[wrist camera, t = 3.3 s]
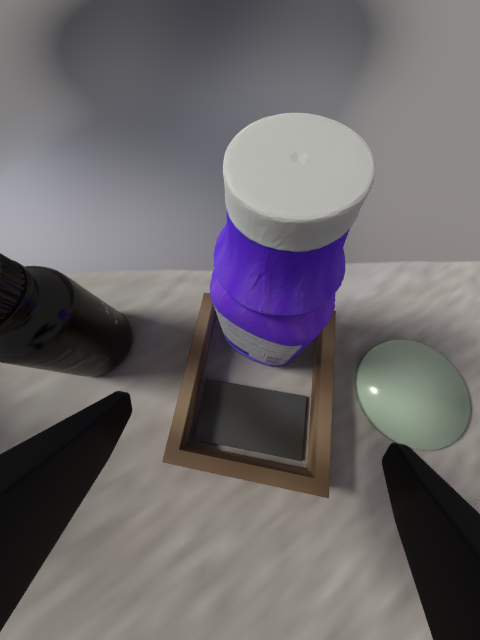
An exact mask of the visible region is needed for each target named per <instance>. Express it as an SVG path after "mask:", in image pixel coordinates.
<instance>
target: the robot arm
mask: <svg viewBox="0 0 480 640" xmlns="http://www.w3.org/2000/svg"><path fill="white" fill-rule="evenodd" d="M131 413H132V405H131V399H130V394H129V393H127V392H122V391H117V392H114V393H112V394H111V395H109V396H107V397H105V398H103V399H101V400H100V401H98V402H96V403H94V404H92V405H90V406H89V407H87V408H85V409H83V410H81V411H79V412H77V413H76V414H74V415H72V416H70V417H68V418H66V419H65V420H63V421H61V422H59V423H57V424H55V425H54V426H52V427H50V428H48V429H46V430H44V431H42V432H41V433H39V434H37V435H35V436H33V437H31V438H30V439H28V440H26V441H24V442H22V443H20V444H19V445H17V446H15V447H13V448H11V449H9V450H7V451H6V452H4V453H2V454H0V631H1V630H2V628H3V627H4V625H5V624H6V622H7V620H8V619H9V617H10V616H11V614H12V612H13V611H14V609H15V608H16V606H17V604H18V603H19V601H20V600H21V598H22V596H23V595H24V593H25V592H26V590H27V588H28V587H29V585H30V584H31V582H32V580H33V579H34V577H35V576H36V574H37V573H38V571H39V569H40V568H41V566H42V565H43V563H44V561H45V560H46V558H47V557H48V555H49V553H50V552H51V550H52V549H53V547H54V545H55V544H56V542H57V541H58V539H59V537H60V536H61V534H62V533H63V531H64V529H65V528H66V526H67V525H68V523H69V521H70V520H71V518H72V517H73V515H74V514H75V512H76V510H77V509H78V507H79V506H80V504H81V502H82V501H83V499H84V498H85V496H86V494H87V493H88V491H89V490H90V488H91V486H92V485H93V483H94V482H95V480H96V478H97V477H98V475H99V474H100V472H101V470H102V469H103V467H104V466H105V464H106V462H107V461H108V459H109V457H110V455H111V454H112V452H113V450H114V448H115V446H116V444H117V442H118V440H119V438H120V436H121V434H122V432H123V430H124V428H125V426H126V424H127V422H128V420H129V418H130V416H131ZM382 466H383V471H384V475H385V479H386V484H387V488H388V493H389V497H390V502H391V506H392V510H393V514H394V518H395V522H396V525H397V529H398V532H399V535H400V538H401V541H402V544H403V547H404V551H405V554H406V557H407V560H408V563H409V566H410V569H411V572H412V575H413V579H414V582H415V585H416V588H417V591H418V594H419V597H420V600H421V603H422V606H423V610H424V613H425V616H426V619H427V622H428V625H429V628H430V631H431V634H432V637H433V640H480V514H479V513H478V512H477V511H476V510H475V509H474V508H473V507H472V506H471V505H470V504H469V503H468V502H467V501H466V500H465V499H463V498H462V497H461V496H460V495H459V494H458V493H457V492H456V491H455V490H454V489H453V488H452V487H451V486H450V485H449V484H448V483H447V482H446V481H445V480H443V479H442V478H441V477H440V476H439V475H438V474H437V473H436V472H435V471H434V470H433V469H432V468H431V467H430V466H429V465H428V464H427V463H426V462H425V461H424V460H422V459H421V458H420V457H419V456H418V455H417V454H416V453H415V452H414V451H413V450H412V449H411V448H410V447H409V446H407V445H405V444H400V443H391V444H390V446H389V448H388V449H387V451H386V453H385V455H384V456H383V459H382Z"/></svg>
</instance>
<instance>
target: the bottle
mask: <svg viewBox="0 0 480 640" xmlns="http://www.w3.org/2000/svg"><path fill="white" fill-rule="evenodd" d="M223 175H224V185H225V203H226V209H227V224H226V226H225V227H224V228H223V230H222V231H221V233H220V235H219V236H218V238H217V242H216V246H215V251H214V268H215V269H214V271H213V274H212V280H211V284H210V296H211V300H212V303H213V305H214V308H215V311H216V313H217V316H218V319H219V322H220V325H221V327H222V331H223V333H224V337H225V339H226V340H227V342H228V343H229V344H230V345H231V346H232V347H233V348H234V349H235V350H236V351H238V352H239V353H240V354H242V355H244V356H245V357H247V358H249V359H251V360H253V361H255V362H258V363H261V364H264V365H268V366H281V365H284V364H286V363H288V362H289V361H291V360H292V359H293V358H295V356H297V355H298V354H299V353H300V352H301V351H302V350H303V349H304V348H305V347H306V346H307V345H308V344H310V343H311V342H312V341H313V340H314V339H315V338H316V337H318V336H319V333H320V332H321V330H322V329H323V328H324V327H325V326H326V325H327V324H328V322H329V321H330V318H331V316H332V313H333V311H334V308H335V304H334V302H335V292H336V291H337V290H338V288H339V287H340V286H341V282H342V280H343V278H344V274H345V255H344V251H343V246H344V243H345V240H346V237H347V235H348V232H349V230H350V228H351V226H352V225H353V223H354V222H355V220H356V218H357V216H358V213H359V210H360V208H361V206H362V204H363V203H364V201H365V199H366V197H367V195H368V193H369V192H370V189H371V187H372V185H373V182H374V176H375V162H374V159H373V156H372V152H371V150H370V149H369V147H368V145H367V144H366V143H365V141H364V140H363V139H362V138H361V137H360V136H359V135H358V134H356V133H355V132H354V131H353V130H351V129H349V128H348V127H346V126H344V125H343V124H340V123H339V122H337V121H335V120H331V119H329V118H326V117H322V116H318V115H314V114H306V113H284V114H278V115H274V116H270V117H265V118H263V119H260V120H258V121H256V122H254V123H251V124H250V125H248V126H247V127H246V128H244V129H243V130H241V131H240V132H239V133H238V134H237V135H236V136H235V137H234V139H233V140H232V141H231V143H230V144H229V146H228V148H227V151H226V153H225V156H224V162H223Z"/></svg>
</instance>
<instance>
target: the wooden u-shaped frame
mask: <svg viewBox="0 0 480 640" xmlns="http://www.w3.org/2000/svg"><path fill="white" fill-rule="evenodd" d="M335 314H336V311H333V313H332V316H331V318H330V321H329V322H328V324H327V325H326V326H325V327H324V328H323V329H322V330H321V332H320V333H319V336H318V337H316V338H315V349H314V365H313V380H312V395H311V411H310V426H309V441H308V457H307V468H302V467H297V466H292V465H287V464H282V463H277V462H273V461H268V460H263V459H258V458H253V457H248V456H243V455H239V454H234V453H229V452H224V451H219V450H214V449H209V448H205V447H200V446H195V445H190V444H188V439H189V435H190V430H191V426H192V421H193V417H194V412H195V408H196V403H197V399H198V394H199V390H200V385H201V381H202V376H203V371H204V367H205V362H206V358H207V353H208V349H209V344H210V340H211V335H212V331H213V326H214V322H215V317H216V311H215V308H214V305H213V303H212V300H211V296H210V294H209V293H204V296H203V300H202V304H201V308H200V312H199V316H198V320H197V324H196V328H195V332H194V336H193V340H192V344H191V348H190V352H189V356H188V360H187V364H186V368H185V372H184V376H183V381H182V385H181V389H180V393H179V397H178V401H177V405H176V409H175V413H174V417H173V421H172V425H171V429H170V433H169V437H168V441H167V445H166V449H165V453H164V457H163V461H162V462H164V463H169V464H173V465H178V466H182V467H187V468H192V469H196V470H201V471H206V472H210V473H215V474H219V475H224V476H229V477H233V478H238V479H243V480H247V481H252V482H256V483H261V484H266V485H270V486H275V487H280V488H284V489H289V490H293V491H298V492H303V493H307V494H312V495H316V496H321V497H326V498H329V479H330V452H331V424H332V397H333V369H334V342H335ZM305 409H306V396H301V395H295V394H289V393H284V392H278V391H272V390H266V389H261V388H255V387H249V386H244V385H238V384H232V383H227V382H221V381H215V380H209V379H207V380H206V384H205V389H204V394H203V398H202V403H201V408H200V412H199V417H198V422H197V426H196V431H195V436H194V439H195V440H200V441H205V442H210V443H215V444H220V445H225V446H230V447H235V448H240V449H244V450H249V451H254V452H259V453H264V454H269V455H274V456H279V457H284V458H289V459H294V460H299V461H302V451H303V437H304V423H305Z"/></svg>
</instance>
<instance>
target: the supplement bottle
mask: <svg viewBox="0 0 480 640" xmlns="http://www.w3.org/2000/svg"><path fill="white" fill-rule="evenodd" d="M131 344H132V329H131V326H130V324H129V322H128V320H127V319H126V318H125V317H124V316H123V315H122V314H121V313H119V312H118V311H117V310H115V309H114V308H112V307H111V306H109V305H108V304H106V303H105V302H104V301H102V300H101V299H99V298H98V297H96V296H95V295H93V294H92V293H90V292H89V291H88V290H86V289H85V288H83V287H82V286H80V285H79V284H77V283H76V282H74V281H73V280H71V279H70V278H69V277H67V276H65V275H64V274H62V273H60V272H59V271H57V270H54V269H51V268H47V267H41V266H25V267H24V266H23V265H21V264H19V263H17V262H16V261H13V260H11V259H9V258H7V257H6V256H4V255H2V254H1V253H0V362H2V363H7V364H13V365H19V366H25V367H31V368H37V369H42V370H48V371H54V372H60V373H66V374H72V375H79V376H87V377H92V376H99V375H102V374H105V373H107V372H109V371H111V370H113V369H114V368H116V367H117V366H118V365H119V364H120V363H121V362H122V361H123V360H124V358H125V357H126V356H127V354H128V352H129V350H130V347H131Z"/></svg>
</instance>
